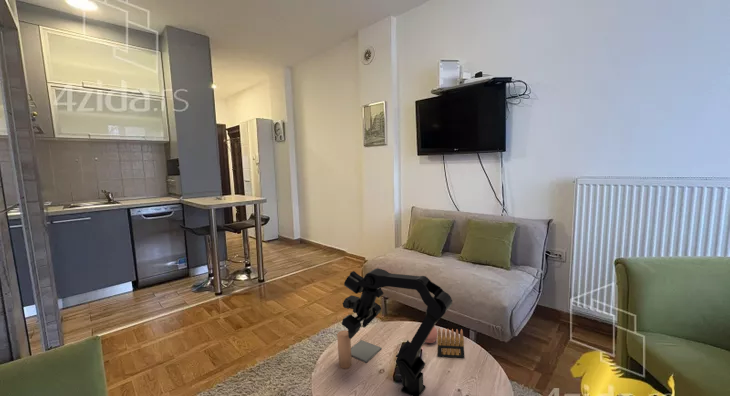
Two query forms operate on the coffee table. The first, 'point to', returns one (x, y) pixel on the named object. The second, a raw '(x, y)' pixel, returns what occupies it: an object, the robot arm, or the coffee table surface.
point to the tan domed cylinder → (344, 350)
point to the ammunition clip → (445, 344)
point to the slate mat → (364, 351)
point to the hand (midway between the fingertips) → (356, 332)
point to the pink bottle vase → (432, 336)
